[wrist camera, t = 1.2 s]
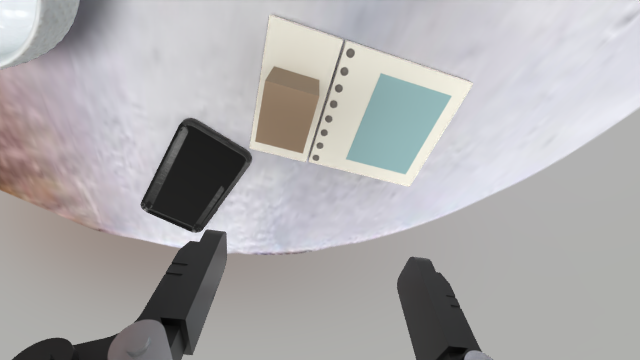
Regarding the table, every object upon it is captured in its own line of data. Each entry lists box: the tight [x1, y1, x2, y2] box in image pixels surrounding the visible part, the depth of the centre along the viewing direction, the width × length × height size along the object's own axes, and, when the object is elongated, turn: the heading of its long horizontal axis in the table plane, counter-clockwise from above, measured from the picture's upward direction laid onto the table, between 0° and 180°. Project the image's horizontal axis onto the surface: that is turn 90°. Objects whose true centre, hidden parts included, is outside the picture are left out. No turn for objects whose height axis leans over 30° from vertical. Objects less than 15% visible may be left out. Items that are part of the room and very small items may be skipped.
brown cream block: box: [249, 15, 343, 162], centre depth 22 cm, size 6×12×6 cm, turn 164°
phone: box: [141, 118, 252, 233], centre depth 30 cm, size 8×1×15 cm
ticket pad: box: [309, 40, 473, 187], centre depth 26 cm, size 12×12×1 cm
